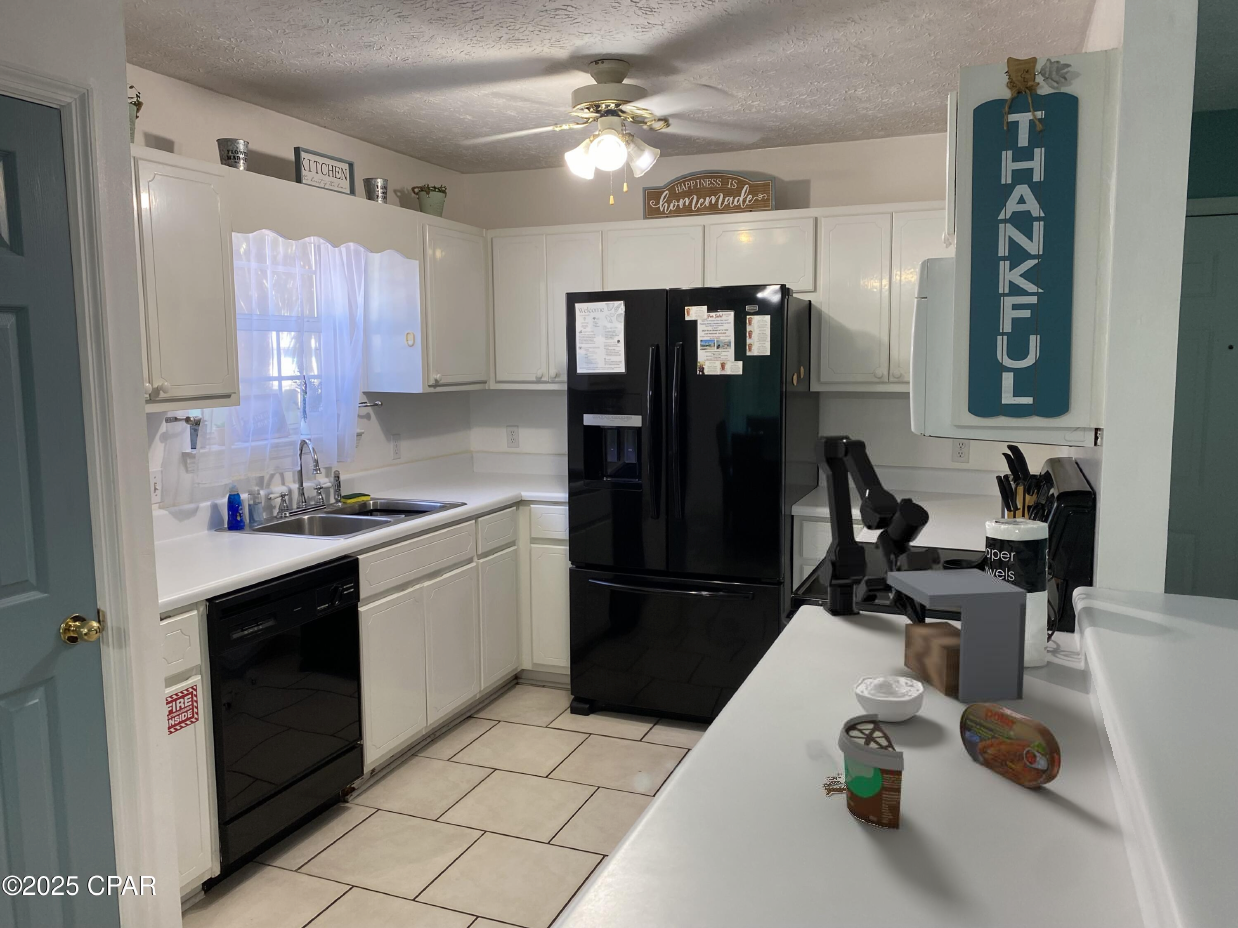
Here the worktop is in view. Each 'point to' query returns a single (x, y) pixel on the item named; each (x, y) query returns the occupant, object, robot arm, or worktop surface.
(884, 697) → the white bowl of cream
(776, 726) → the worktop surface
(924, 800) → the worktop surface
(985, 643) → the slate shelf
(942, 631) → the walnut block
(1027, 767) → the tin
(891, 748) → the food container
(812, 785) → the worktop surface
